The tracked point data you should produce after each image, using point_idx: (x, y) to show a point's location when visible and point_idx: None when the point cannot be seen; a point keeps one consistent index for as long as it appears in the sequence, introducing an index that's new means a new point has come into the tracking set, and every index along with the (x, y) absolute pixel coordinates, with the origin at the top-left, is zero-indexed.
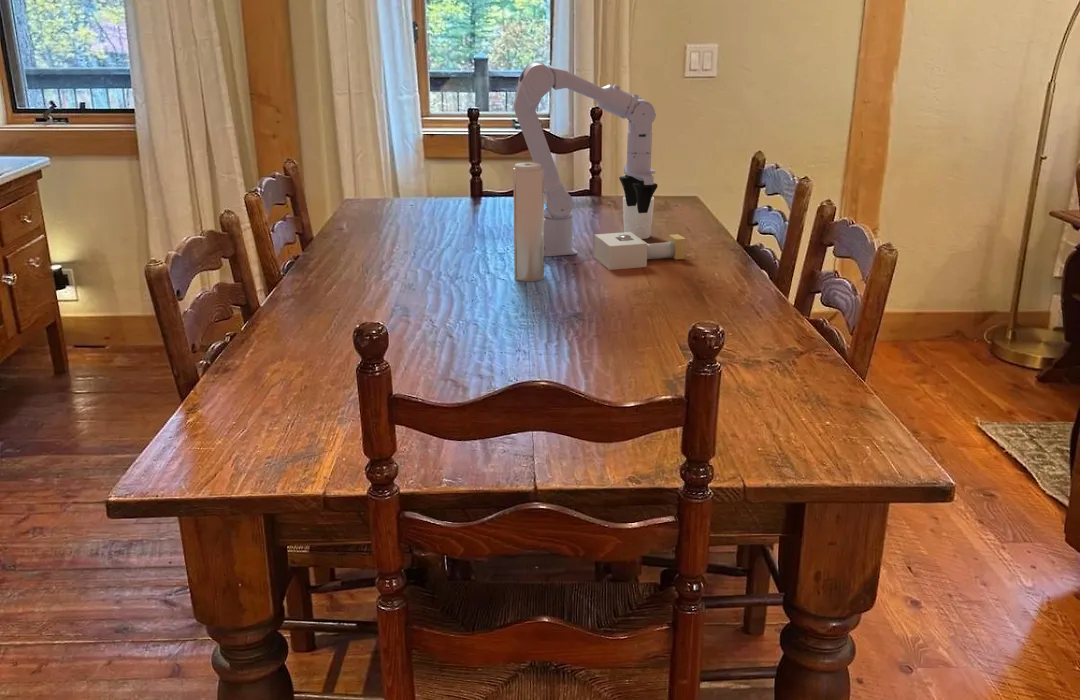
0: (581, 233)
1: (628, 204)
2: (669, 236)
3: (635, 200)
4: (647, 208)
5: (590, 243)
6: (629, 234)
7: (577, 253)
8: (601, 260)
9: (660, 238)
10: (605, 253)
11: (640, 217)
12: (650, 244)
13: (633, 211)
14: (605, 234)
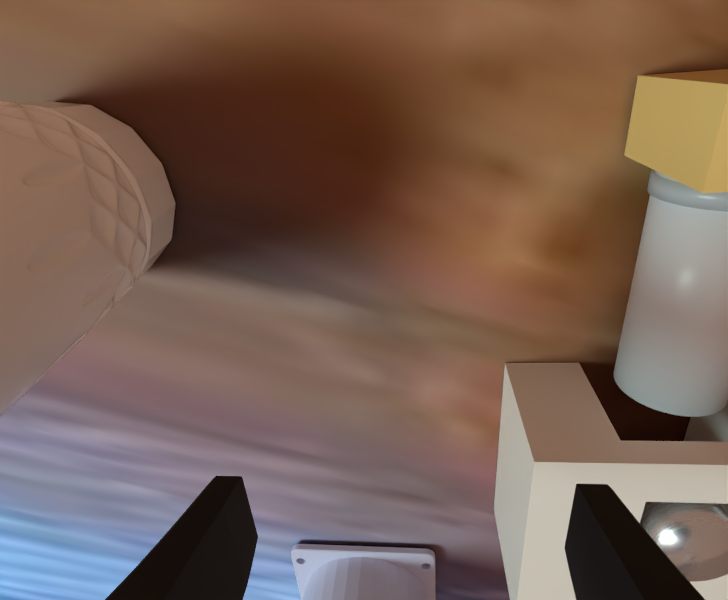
0: (57, 442)
1: (252, 552)
2: (712, 188)
3: (218, 533)
4: (636, 531)
5: (248, 458)
6: None
7: (430, 550)
8: None
9: (147, 42)
10: None
11: (100, 269)
12: (723, 356)
13: (63, 349)
14: (537, 587)
